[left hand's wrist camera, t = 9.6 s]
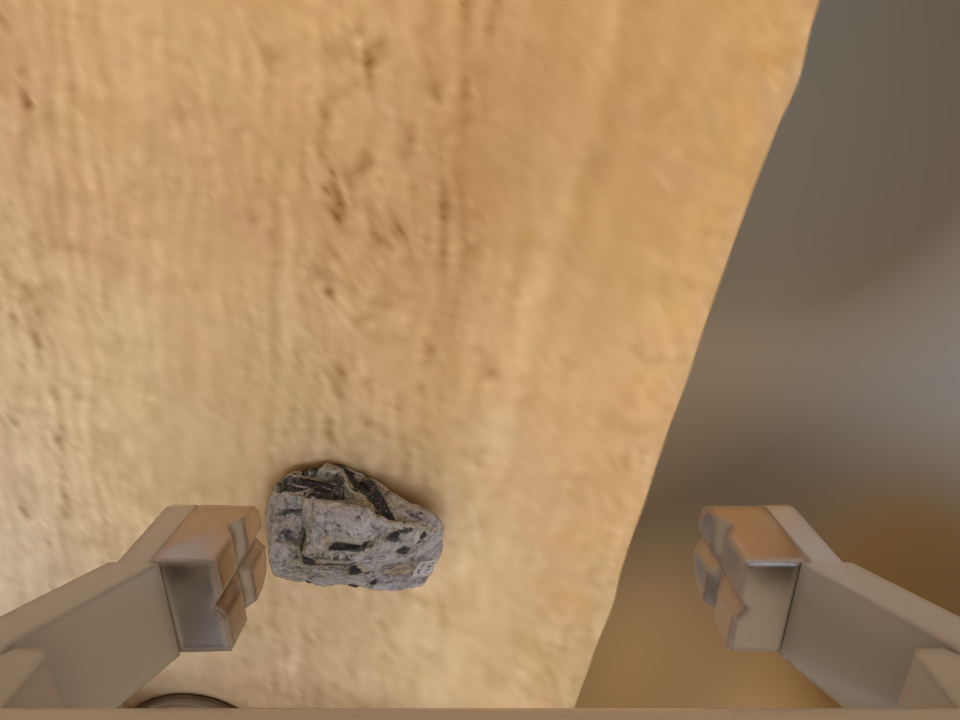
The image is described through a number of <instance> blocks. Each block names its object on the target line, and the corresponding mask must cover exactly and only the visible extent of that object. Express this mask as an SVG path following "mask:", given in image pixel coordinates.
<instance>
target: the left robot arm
mask: <svg viewBox="0 0 960 720" xmlns="http://www.w3.org/2000/svg"><path fill="white" fill-rule="evenodd" d="M260 528H261V521H260V516H259V511H258V510H257V509H256V508H255V507H254V506H222V505H200V506H199V505H172V506H169V507H166V508H165V509H164V511H163V512H162V513H161V514H160V515H159V516H158V517H157V519H156V520H155V521H154V522H153V523H152V524H151V525H150V526H149V528H148V529H147V530H146V531H145V532H144V533H143V534H142V535H141V537H140V538H139V539H138V540H137V541H136V542H135V543H134V544H133V546H132V547H131V548H130V549H129V550H128V551H127V552H126V553H125V555H124V556H123V557H122V558H121V559H120V560H119V561H118V562H117V563H107V564H105V565H103V566H101V567H99V568H97V569H95V570H93V571H91V572H89V573H87V574H85V575H83V576H81V577H79V578H77V579H75V580H73V581H71V582H69V583H67V584H65V585H63V586H61V587H59V588H57V589H55V590H53V591H51V592H49V593H47V594H45V595H43V596H41V597H39V598H37V599H35V600H33V601H31V602H29V603H27V604H25V605H23V606H21V607H19V608H17V609H15V610H13V611H11V612H9V613H7V614H5V615H3V616H1V617H0V720H960V617H959V616H957V615H955V614H953V613H951V612H949V611H947V610H945V609H943V608H941V607H939V606H937V605H935V604H933V603H931V602H929V601H927V600H925V599H923V598H921V597H919V596H917V595H915V594H913V593H911V592H909V591H907V590H905V589H903V588H901V587H899V586H897V585H895V584H893V583H891V582H889V581H887V580H885V579H883V578H881V577H879V576H877V575H875V574H873V573H871V572H869V571H867V570H865V569H863V568H861V567H859V566H857V565H855V564H853V563H843V562H842V561H841V560H840V559H839V558H838V557H837V556H836V555H835V554H834V552H833V551H832V550H831V549H830V548H829V547H828V546H827V544H826V543H825V542H824V541H823V540H822V539H821V538H820V537H819V535H818V534H817V533H816V532H815V531H814V530H813V529H812V528H811V526H810V525H809V524H808V523H807V522H806V521H805V520H804V519H803V517H802V516H801V515H800V514H799V513H798V512H797V511H796V509H795V508H793V507H791V506H789V505H760V506H731V507H704V508H703V510H702V512H701V515H700V520H699V528H700V530H701V531H702V533H703V535H704V538H703V539H702V540H701V541H700V542H699V543H698V544H697V545H696V546H695V553H694V561H693V563H694V574H695V580H696V583H697V587H698V590H699V592H700V594H701V596H702V598H703V600H704V601H705V602H707V603H708V604H710V605H711V606H712V607H714V608H715V611H714V617H713V621H714V623H715V625H716V626H717V628H718V630H719V632H720V634H721V636H722V638H723V640H724V642H725V644H726V646H727V648H728V650H729V651H755V652H780V655H781V656H782V657H783V658H785V659H786V660H787V661H788V662H789V663H790V664H792V665H793V666H794V667H795V668H796V669H798V670H799V671H800V672H801V673H802V674H804V675H805V676H806V677H807V678H808V679H810V680H811V681H812V682H813V683H814V684H815V685H817V686H818V687H819V688H820V689H821V690H822V691H824V692H825V693H826V694H827V695H828V696H830V697H831V698H832V699H833V700H834V701H836V702H837V703H838V704H839V705H840V706H841V707H843V708H118V707H119V706H120V705H121V704H122V703H123V702H125V701H126V700H127V699H128V698H129V697H131V696H132V695H133V694H134V693H135V692H137V691H138V690H139V689H140V688H141V687H142V686H144V685H145V684H146V683H147V682H148V681H150V680H151V679H152V678H153V677H154V676H156V675H157V674H158V673H159V672H160V671H161V670H163V669H164V668H165V667H166V666H167V665H169V664H170V663H171V662H172V661H173V660H175V659H176V658H177V657H178V656H179V655H180V652H204V651H231V650H232V648H233V646H234V644H235V642H236V640H237V638H238V636H239V634H240V632H241V631H242V629H243V627H244V625H245V623H246V621H247V617H246V611H245V608H246V607H248V606H249V605H250V604H252V603H253V602H255V601H256V600H257V598H258V596H259V594H260V592H261V590H262V588H263V583H264V579H265V574H266V552H265V546H264V545H263V544H262V543H261V542H260V541H259V540H258V539H257V538H256V535H257V533H258V531H259V530H260Z"/></svg>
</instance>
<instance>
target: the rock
mask: <svg viewBox="0 0 960 720" xmlns="http://www.w3.org/2000/svg"><path fill="white" fill-rule="evenodd" d="M443 531H444V526H443V524H442V522H441V521H440V519H439V518H438V517H437V515H436V514H434V513H433V512H431V511H430V510H428V509H427V508H424V507H422V506H420V505H417V504H414V503H410V502H408V501H406V500H405V499H404V498H402V497H400V496H398V495H397V494H395V493H393V492H391V491H390V490H389V489H387V488H386V487H385V486H383V485H382V484H381V483H380V482H378V481H377V480H375V479H372V478H368V477H365V476H364V475H363V474H362V473H359V472H356V471H354V470H352V469H350V468H348V467H346V466H343V465H341V464H338V465H332V464H330V463H325V464H324V465H323V466H322V467H321V468H320V469H315V468H310V469H308V470H306V471H293V472H291V473H289V474H288V475H286V476H284V477H283V478H282V479H281V480H280V481H279V483H278V484H277V485H276V486H275V488H274V489H273V491H272V493H271V495H270V497H269V499H268V501H267V509H266V532H267V539H268V555H269V563H270V566H271V569H272V573H273V574H274V575H275V576H276V577H281V578H284V579H287V580H292V581H295V582H301V581H306V582H307V583H314V584H315V585H319V586H323V587H324V586H329V585H335V584H342V585H343V584H348V585H349V586H352V587H356V588H357V587H358V586H361V587H365V588H368V589H372V590H389V591H398V590H402V589H406V588H415V587H418V586H422V585H423V584H424V583H425V582H426V580H427V578H428V577H429V575H430V574H431V573H432V571H433V567H434V565H435V563H436V562H437V561H438V559H439V557H440V555H441V551H442V548H443V544H442V541H443V534H442V533H443Z"/></svg>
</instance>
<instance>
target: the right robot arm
mask: <svg viewBox="0 0 960 720" xmlns="http://www.w3.org/2000/svg"><path fill="white" fill-rule="evenodd" d="M137 708H233V707H231V706H229V705H227V704H225V703H223V702H220V701H217V700H214V699H210V698H206V697H201V696H194V695H171V696H164V697H159V698H156V699H153V700H150V701H148V702H146V703H144V704H142V705H140V706H139V707H137Z"/></svg>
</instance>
